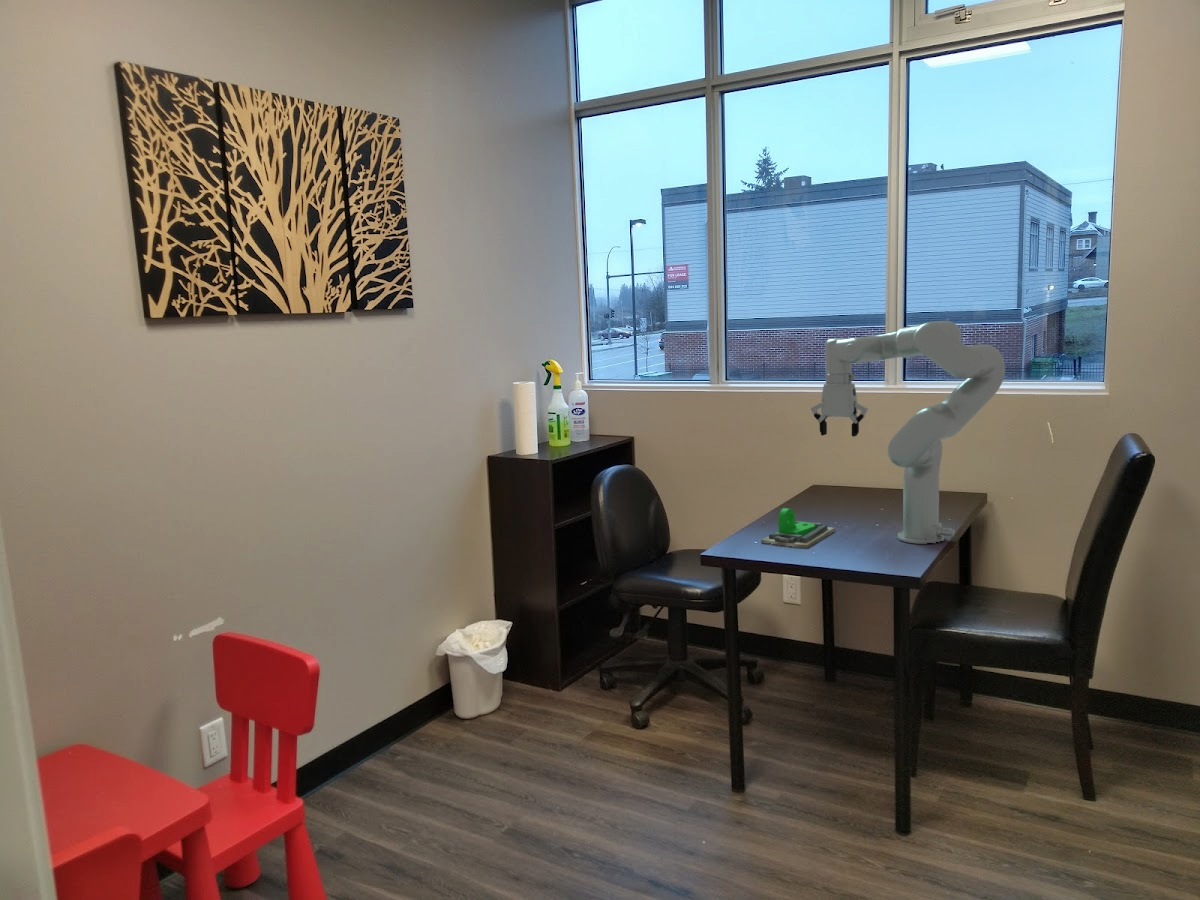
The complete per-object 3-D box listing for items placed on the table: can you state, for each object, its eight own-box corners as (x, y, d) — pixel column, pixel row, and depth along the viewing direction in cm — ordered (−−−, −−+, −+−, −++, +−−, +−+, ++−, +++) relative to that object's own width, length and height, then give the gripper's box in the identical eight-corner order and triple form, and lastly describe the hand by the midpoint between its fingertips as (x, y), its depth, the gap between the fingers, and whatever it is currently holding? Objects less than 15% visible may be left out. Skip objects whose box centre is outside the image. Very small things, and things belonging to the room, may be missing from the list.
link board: (835, 531, 261) (834, 522, 260) (806, 548, 243) (806, 539, 243) (791, 526, 269) (791, 518, 268) (761, 543, 251) (761, 534, 251)
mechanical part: (796, 539, 250) (795, 512, 249) (778, 536, 254) (778, 509, 253) (818, 530, 258) (818, 504, 257) (801, 528, 262) (801, 502, 261)
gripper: (871, 378, 258) (871, 434, 261) (815, 378, 268) (816, 432, 271) (862, 380, 252) (863, 438, 255) (806, 380, 262) (807, 436, 265)
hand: (839, 435), depth 263 cm, fingers open, 9 cm apart
